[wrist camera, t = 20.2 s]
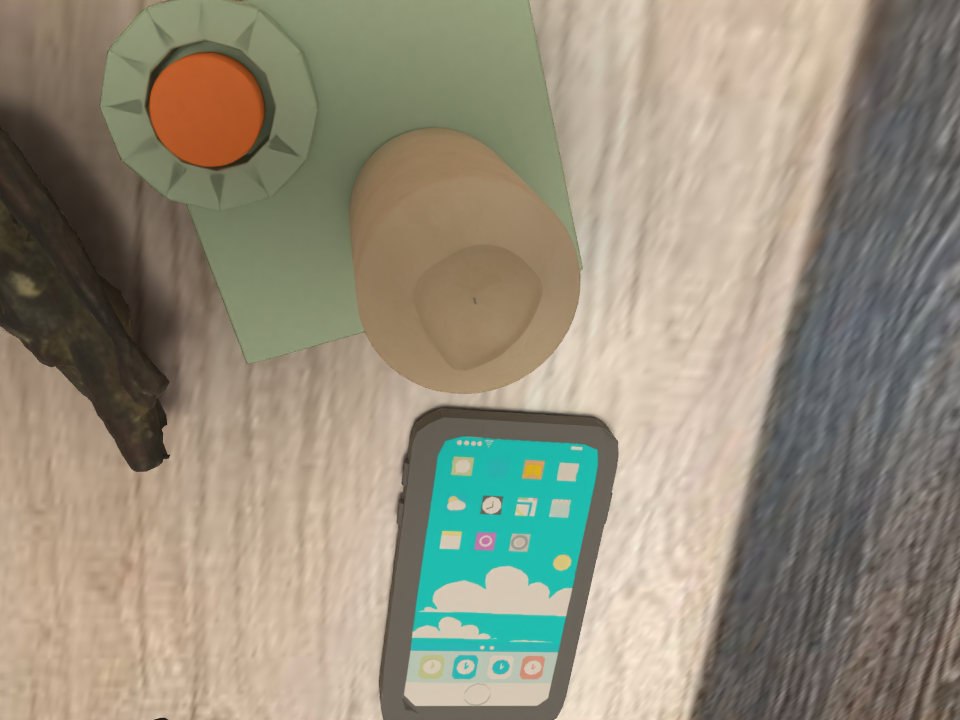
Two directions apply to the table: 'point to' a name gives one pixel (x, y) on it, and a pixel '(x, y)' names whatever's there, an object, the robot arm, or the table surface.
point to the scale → (326, 134)
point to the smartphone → (493, 563)
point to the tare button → (207, 109)
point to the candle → (458, 264)
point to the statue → (74, 313)
